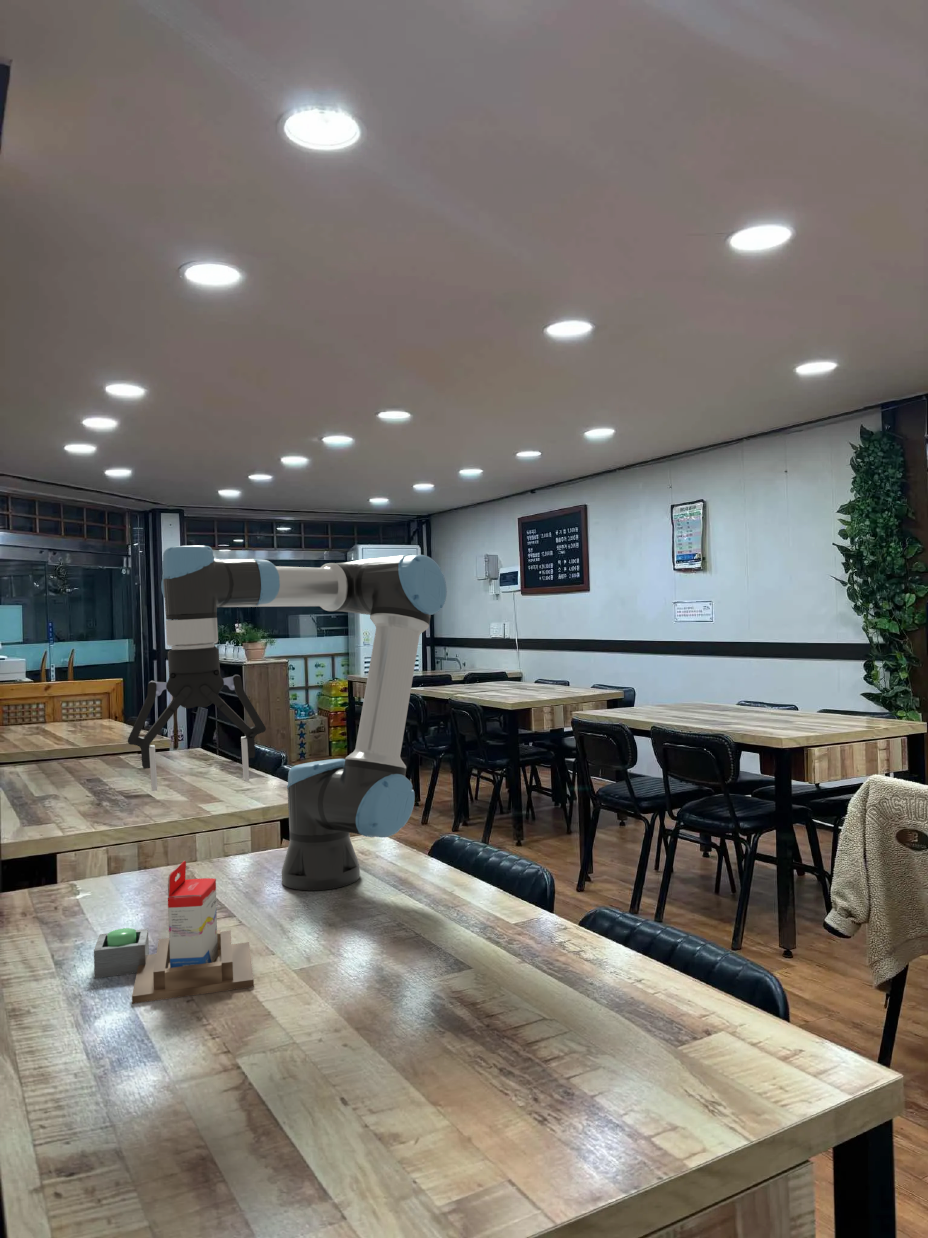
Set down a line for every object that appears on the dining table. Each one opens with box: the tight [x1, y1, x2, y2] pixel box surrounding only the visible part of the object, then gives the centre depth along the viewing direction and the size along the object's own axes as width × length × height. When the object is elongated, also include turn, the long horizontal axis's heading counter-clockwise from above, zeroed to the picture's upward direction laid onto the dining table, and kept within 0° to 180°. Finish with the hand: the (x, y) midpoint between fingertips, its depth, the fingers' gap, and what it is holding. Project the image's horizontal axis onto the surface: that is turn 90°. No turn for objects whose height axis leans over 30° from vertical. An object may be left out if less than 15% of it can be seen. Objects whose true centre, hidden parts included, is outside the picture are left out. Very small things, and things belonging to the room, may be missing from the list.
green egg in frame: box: [93, 928, 150, 979], centre depth 133 cm, size 7×7×4 cm
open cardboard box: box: [131, 929, 255, 1005], centre depth 129 cm, size 16×15×4 cm
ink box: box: [167, 860, 218, 968], centre depth 129 cm, size 8×5×15 cm, turn 2°
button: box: [106, 927, 137, 947], centre depth 133 cm, size 4×4×3 cm
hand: (201, 784), depth 137 cm, fingers open, 13 cm apart
